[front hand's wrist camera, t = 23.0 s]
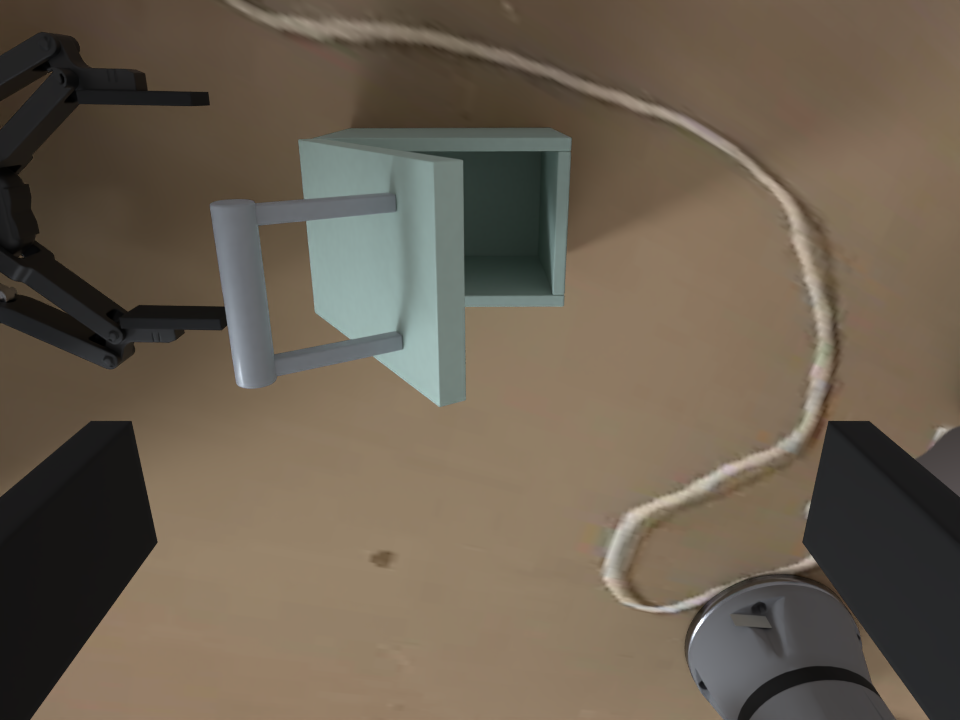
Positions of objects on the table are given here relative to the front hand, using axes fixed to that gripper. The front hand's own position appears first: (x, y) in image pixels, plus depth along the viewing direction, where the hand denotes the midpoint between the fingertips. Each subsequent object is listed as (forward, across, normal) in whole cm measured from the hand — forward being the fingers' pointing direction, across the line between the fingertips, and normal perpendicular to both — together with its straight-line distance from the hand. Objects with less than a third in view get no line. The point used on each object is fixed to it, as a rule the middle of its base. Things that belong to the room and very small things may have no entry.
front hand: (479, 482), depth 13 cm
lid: (+20, +4, 0) cm, 20 cm away
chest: (+37, +2, 0) cm, 37 cm away
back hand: (+31, +17, 0) cm, 35 cm away
